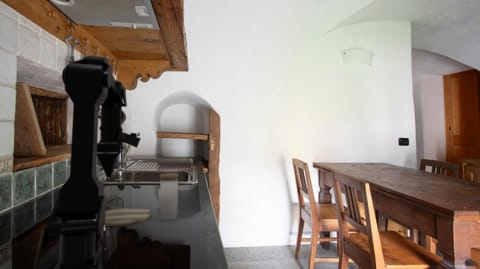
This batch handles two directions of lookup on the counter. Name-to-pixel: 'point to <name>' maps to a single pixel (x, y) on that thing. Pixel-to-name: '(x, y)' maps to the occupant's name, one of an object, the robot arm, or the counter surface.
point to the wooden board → (126, 216)
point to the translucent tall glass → (168, 196)
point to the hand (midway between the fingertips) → (110, 174)
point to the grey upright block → (159, 199)
